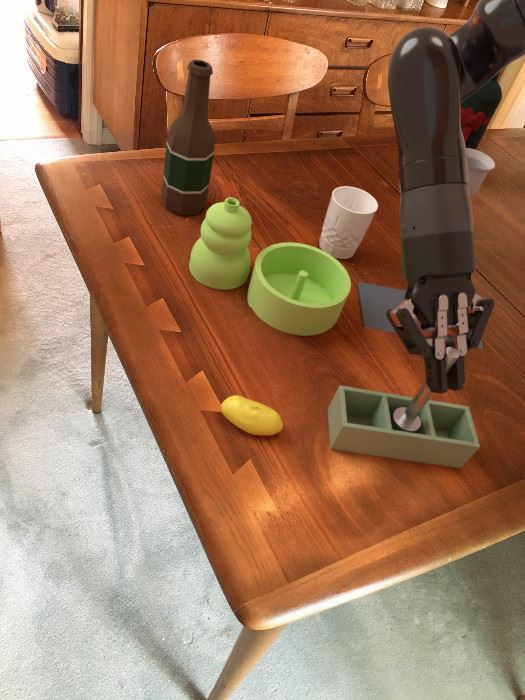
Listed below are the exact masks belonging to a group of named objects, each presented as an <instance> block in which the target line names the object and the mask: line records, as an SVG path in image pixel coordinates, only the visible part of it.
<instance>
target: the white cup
mask: <svg viewBox="0 0 525 700" xmlns="http://www.w3.org/2000/svg"><path fill="white" fill-rule="evenodd" d="M378 208H379V203H378V201H377V200H376V199H375V197H374V196H373V195H372V194H370V193H369V192H367V191H365V190H363V189H361V188H359V187H354V186H349V185H348V186H347V185H344V186H338V187H336V188H334V189H333V190H332V192H331V197H330V200H329V203H328V206H327V210H326V213H325V217H324V222H323V223H322V229H321V233H320V236H319V240H318V244H319V245H318V246H319V248H320V250H322V251H324V252H326V253H328V254H329V255H331V256H332V257H334V258H335V259H336V260H348V259H350V258H351V259H352V258H353V257H354V256H355V254H356V252H357V250H358V249H359V246H360V245H361V243H362V241H363V239H364V237H365V235H366V233H367V231H368V229H369V227H370V226H371V223H372V221H373V220H374V217H375V214H376V213H377V211H378Z"/></svg>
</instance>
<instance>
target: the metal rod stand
mask: <svg viewBox="0 0 525 700" xmlns="http://www.w3.org/2000/svg"><path fill="white" fill-rule="evenodd" d="M459 356H460V354H459V351H458V350H457V349H455V348H453V347H447V348H446V349H445V355H444V358H443V359H445V360H446V371H447V373H448V372H449V370H450V369H451V367H452V366H453V365H454V363H455V362H456V360H457V359H458V357H459ZM434 394H435V393H434V392H431V391H430V389H429V388H428V387H427V384H426V378H424V380H423V382H422V384H421V385H420V387H419V388H418V390H417V391H416V393H415V395H414V396H412V397H413V399H412V400H411V402H410V403H409V405H408V406H407V408H406V407H400V408H397V409H396V410H395V411H394V413H393V414H392V416H391V418H390V419H391V426H392V428H393V429H394V430H397V431H404V432H410V433H416V432H417V431H418V429H419V428H420V426H421V420H420V417H419V416H418V415H419V413H420V412H421V410H422V409H423V407H424V406H425V405H426V403H427V402H428V400H431V397H432V396H433V395H434Z"/></svg>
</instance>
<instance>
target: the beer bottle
mask: <svg viewBox="0 0 525 700" xmlns="http://www.w3.org/2000/svg"><path fill="white" fill-rule="evenodd" d="M186 69H187V70H188V73H187V81H186V86H185V92H184V98H183V104H182V107H181V111H180V114H179V115H178V116H177V117H176V118H175V119H174V120H173V121H172V123H171V125H170V127H169V129H168V132H167V137H166V144H165V156H164V167H163V178H162V187H161V188H162V189H161V199H162V201H163V203H164V207H165V208H166V210H168V211H170V212H172V213H175V214H176V215H179V216H197V215H198V214H199V213H200V212H201V211H202V210H203V209H204V208H205V207H206V204H207V198H208V193H209V186H210V181H211V174H212V169H213V163H214V157H215V148H216V140H215V139H216V138H215V134H214V133H215V132H214V130H213V128H212V125H211V123H210V121H209V98H210V87H211V76H212V75H213V74H214V71H213V66H212V65H211V64H210V62H207V61H205V60H202V59H191V61H189V62H188V64H187V68H186Z"/></svg>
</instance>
